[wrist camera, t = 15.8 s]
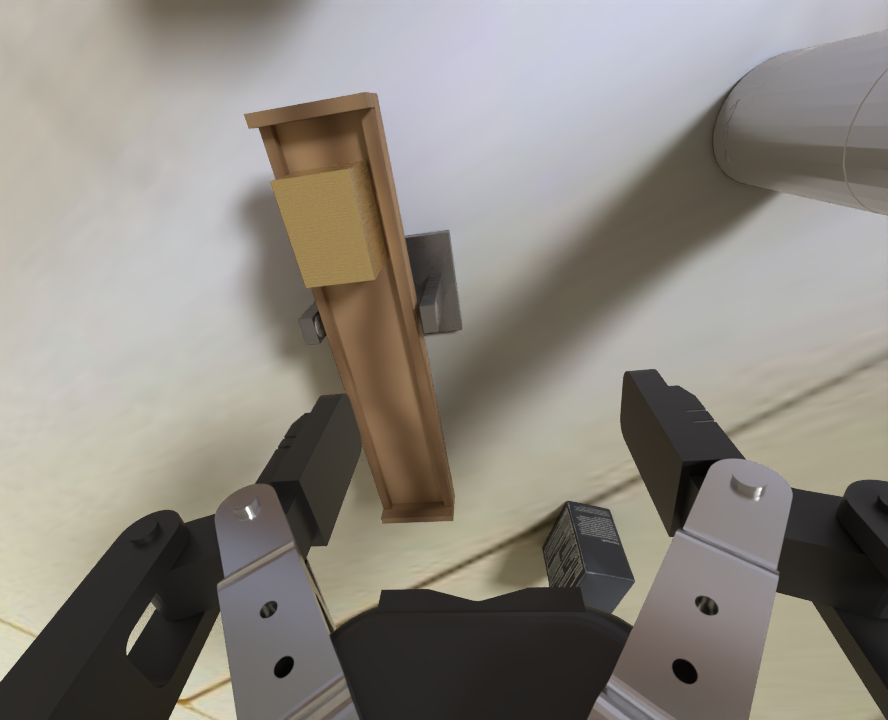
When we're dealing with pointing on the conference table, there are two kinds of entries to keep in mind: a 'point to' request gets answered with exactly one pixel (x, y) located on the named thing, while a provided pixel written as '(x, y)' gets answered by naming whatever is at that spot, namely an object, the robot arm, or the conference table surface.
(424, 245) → the pivot stand
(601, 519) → the small box
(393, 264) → the beam
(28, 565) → the conference table surface
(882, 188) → the robot arm
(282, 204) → the wooden block
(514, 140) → the conference table surface
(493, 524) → the conference table surface
